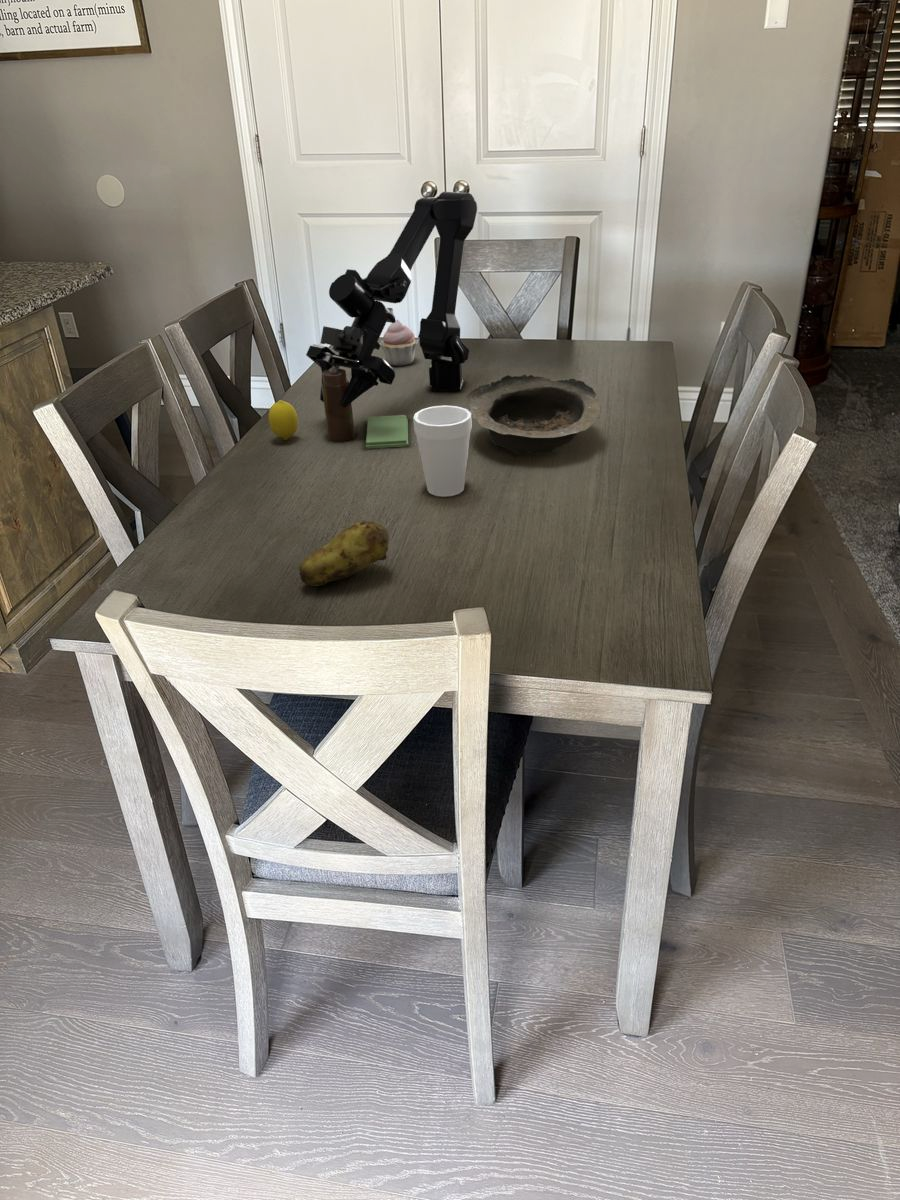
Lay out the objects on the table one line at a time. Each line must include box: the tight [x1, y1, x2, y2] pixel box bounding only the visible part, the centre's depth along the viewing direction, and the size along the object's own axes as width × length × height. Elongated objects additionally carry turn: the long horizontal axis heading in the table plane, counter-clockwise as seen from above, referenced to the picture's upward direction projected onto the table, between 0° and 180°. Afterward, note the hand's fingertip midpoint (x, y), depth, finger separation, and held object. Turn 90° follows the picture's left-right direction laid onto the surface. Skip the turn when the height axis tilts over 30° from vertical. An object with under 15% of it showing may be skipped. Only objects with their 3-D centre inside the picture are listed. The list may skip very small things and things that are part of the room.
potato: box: [298, 519, 390, 587], centre depth 122 cm, size 8×13×8 cm, turn 95°
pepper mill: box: [320, 367, 356, 442], centre depth 166 cm, size 5×5×14 cm
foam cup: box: [412, 404, 473, 498], centre depth 144 cm, size 10×9×13 cm
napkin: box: [365, 414, 409, 450], centre depth 169 cm, size 8×14×1 cm, turn 3°
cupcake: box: [379, 319, 420, 367], centre depth 206 cm, size 9×9×10 cm
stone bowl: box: [465, 374, 602, 455], centre depth 162 cm, size 25×25×9 cm
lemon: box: [268, 399, 299, 441], centre depth 167 cm, size 6×6×8 cm
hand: (332, 403), depth 165 cm, fingers closed on pepper mill, 5 cm apart
